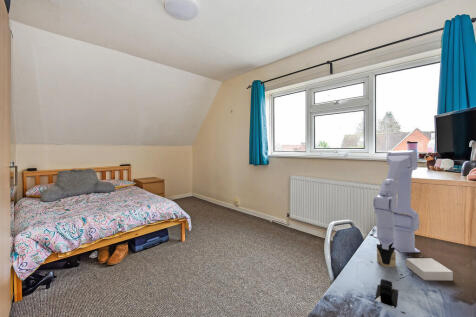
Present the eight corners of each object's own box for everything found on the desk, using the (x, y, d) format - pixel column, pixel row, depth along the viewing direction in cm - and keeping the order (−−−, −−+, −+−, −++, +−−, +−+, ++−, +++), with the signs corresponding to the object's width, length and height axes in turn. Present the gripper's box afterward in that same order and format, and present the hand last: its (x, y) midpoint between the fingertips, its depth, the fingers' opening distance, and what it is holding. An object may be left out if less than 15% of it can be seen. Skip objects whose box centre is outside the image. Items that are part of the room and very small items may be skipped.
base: (406, 266, 82) (406, 258, 82) (431, 266, 82) (431, 258, 82) (424, 280, 74) (424, 271, 73) (452, 280, 73) (452, 271, 73)
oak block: (377, 261, 87) (376, 246, 87) (388, 261, 87) (388, 246, 86) (383, 267, 83) (383, 251, 82) (395, 267, 82) (395, 251, 82)
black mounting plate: (399, 314, 60) (399, 298, 60) (369, 303, 65) (369, 289, 65) (401, 290, 70) (400, 276, 70) (375, 282, 74) (374, 269, 74)
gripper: (374, 219, 92) (375, 250, 93) (371, 230, 81) (372, 265, 81) (394, 221, 88) (395, 254, 89) (395, 233, 76) (396, 271, 77)
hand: (386, 259), depth 85 cm, fingers closed on oak block, 6 cm apart
